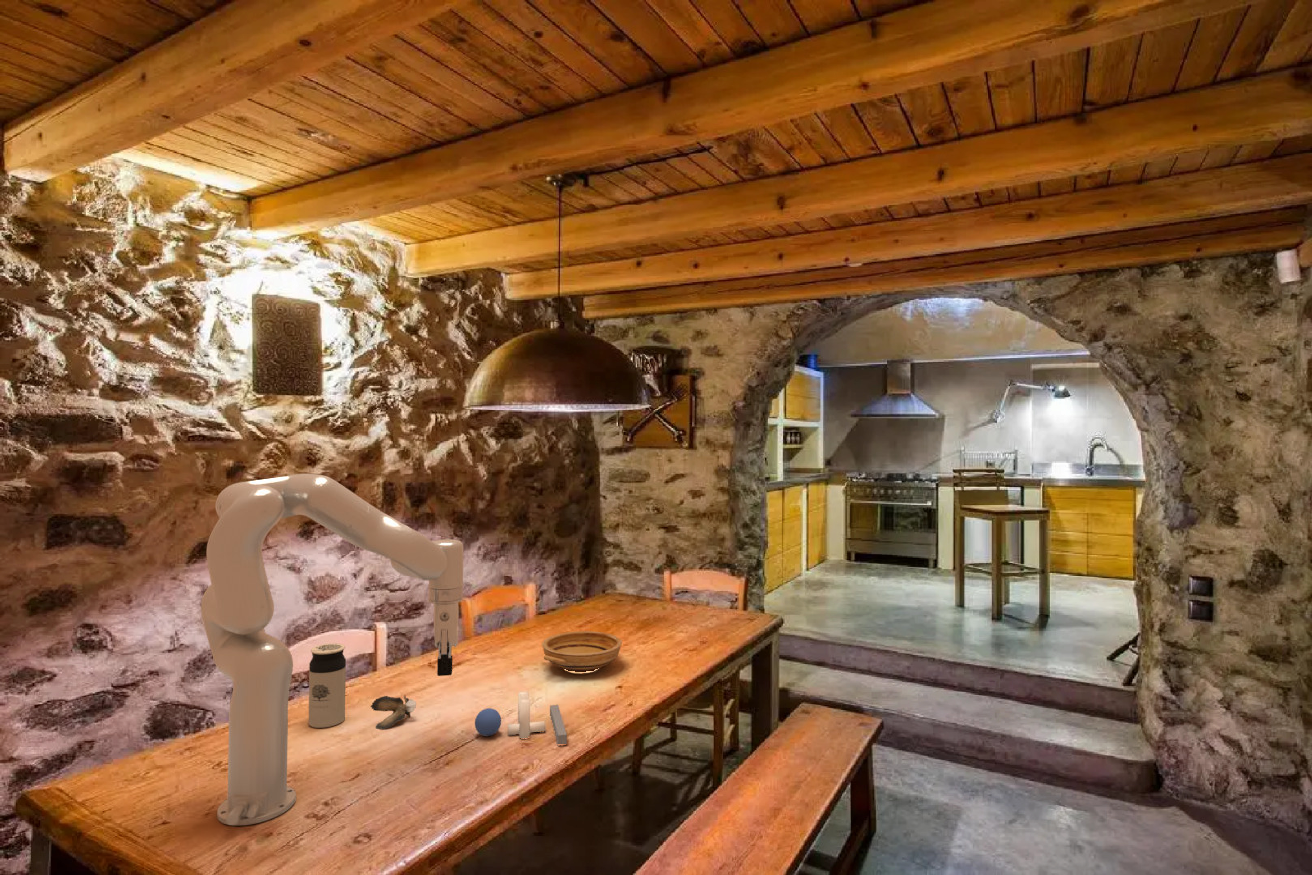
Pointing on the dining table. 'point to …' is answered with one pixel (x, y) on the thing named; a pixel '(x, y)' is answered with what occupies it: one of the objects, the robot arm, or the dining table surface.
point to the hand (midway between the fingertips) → (444, 674)
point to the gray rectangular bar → (558, 724)
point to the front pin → (534, 727)
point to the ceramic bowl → (581, 650)
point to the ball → (488, 722)
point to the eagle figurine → (393, 709)
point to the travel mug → (327, 685)
